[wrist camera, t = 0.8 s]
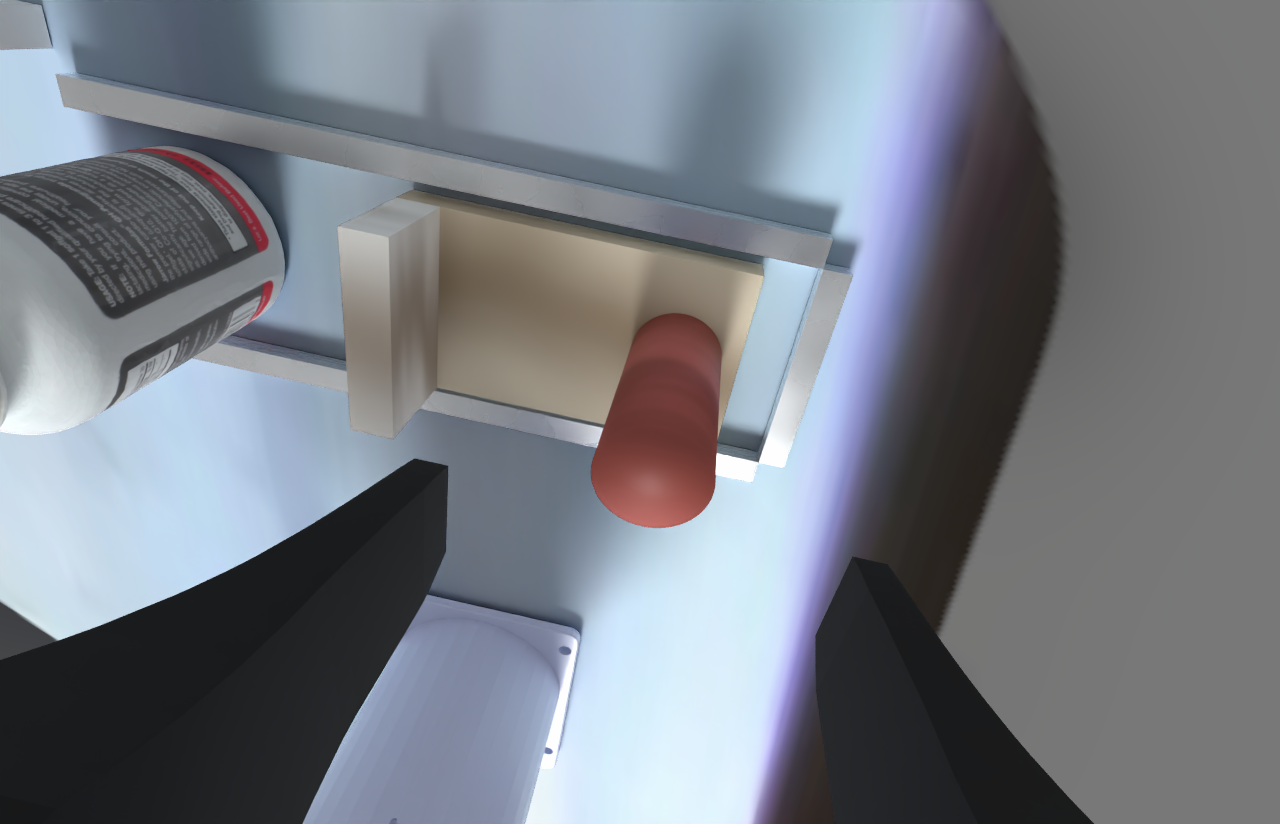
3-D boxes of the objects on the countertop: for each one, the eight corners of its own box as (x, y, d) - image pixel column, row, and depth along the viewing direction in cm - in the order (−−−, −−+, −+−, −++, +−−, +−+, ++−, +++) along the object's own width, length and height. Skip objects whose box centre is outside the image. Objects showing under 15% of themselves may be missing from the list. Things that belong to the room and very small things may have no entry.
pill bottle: (91, 135, 19) (-430, 220, 10) (268, 150, 18) (-127, 251, 10) (152, 312, 22) (-222, 491, 13) (307, 329, 21) (23, 526, 13)
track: (775, 477, 22) (776, 487, 21) (139, 336, 22) (124, 343, 22) (860, 239, 17) (863, 246, 17) (75, 72, 18) (55, 74, 17)
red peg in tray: (715, 431, 21) (706, 592, 15) (413, 365, 21) (285, 496, 15) (763, 264, 18) (775, 380, 12) (412, 189, 18) (253, 266, 12)
